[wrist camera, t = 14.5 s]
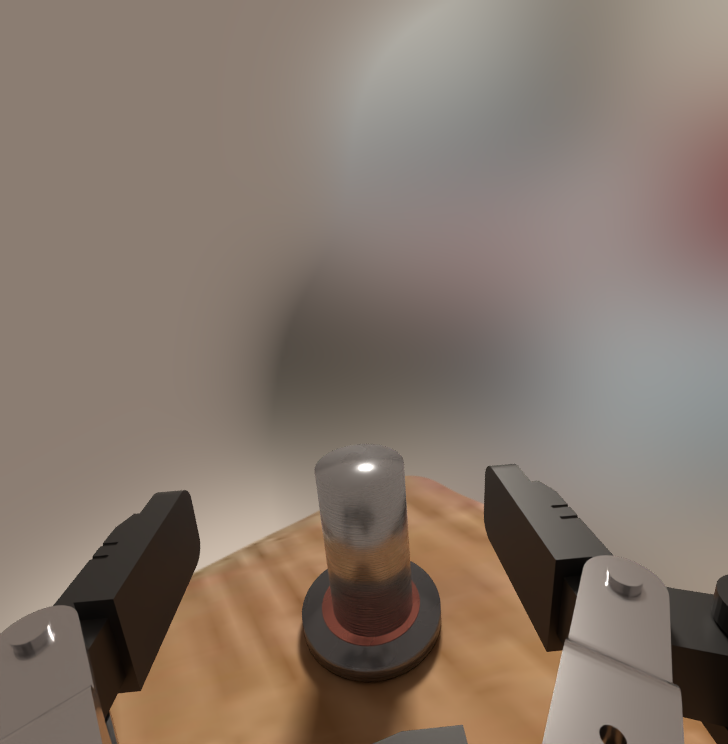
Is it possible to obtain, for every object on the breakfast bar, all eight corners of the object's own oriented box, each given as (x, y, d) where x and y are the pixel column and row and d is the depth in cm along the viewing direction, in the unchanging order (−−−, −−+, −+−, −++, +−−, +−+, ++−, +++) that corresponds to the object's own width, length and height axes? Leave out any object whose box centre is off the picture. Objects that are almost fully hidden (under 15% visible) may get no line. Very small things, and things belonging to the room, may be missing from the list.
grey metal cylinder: (332, 641, 24) (311, 493, 21) (333, 575, 29) (317, 448, 26) (419, 631, 24) (410, 483, 22) (406, 567, 29) (397, 440, 27)
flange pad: (297, 690, 23) (294, 675, 22) (309, 571, 31) (307, 559, 31) (457, 671, 23) (457, 656, 23) (425, 557, 32) (425, 545, 31)
